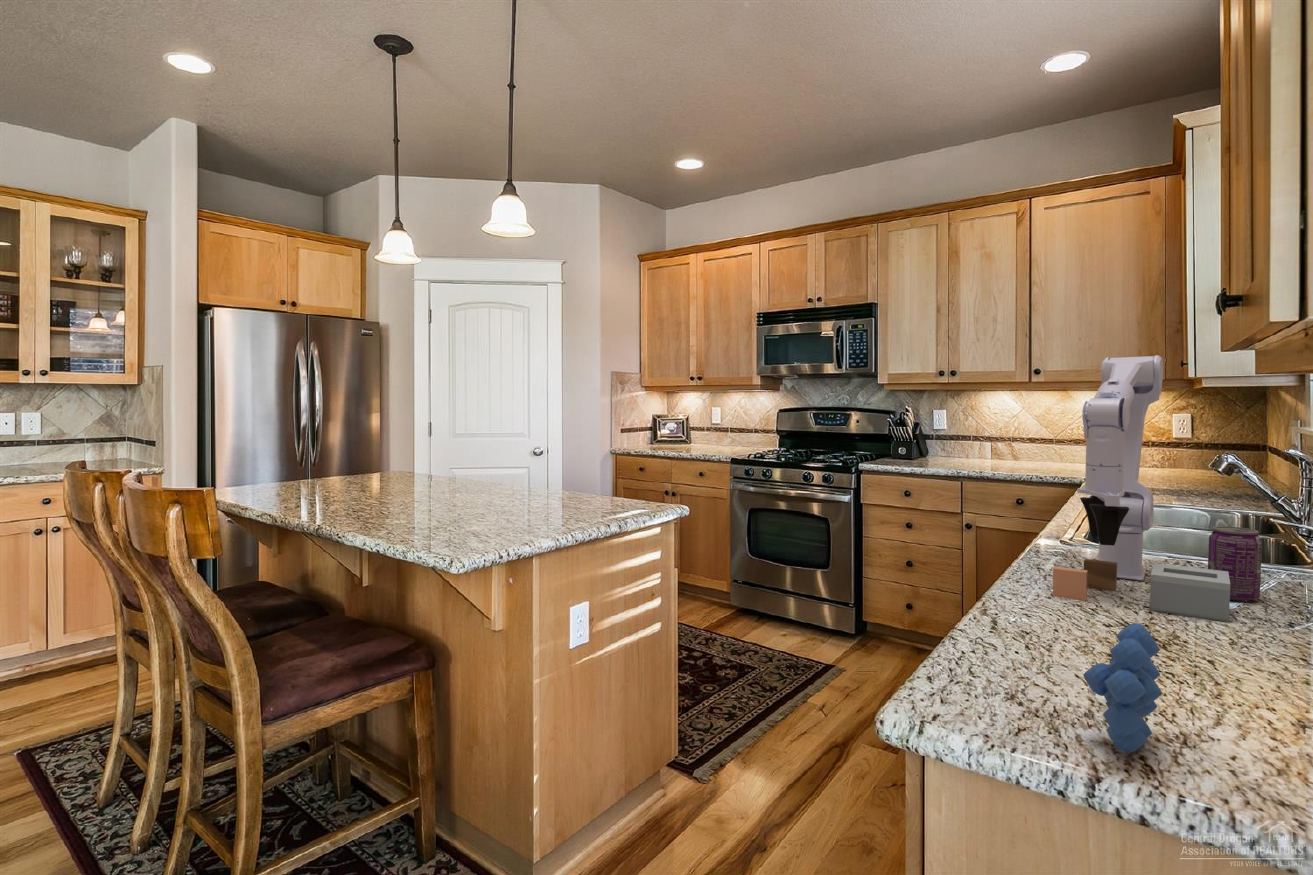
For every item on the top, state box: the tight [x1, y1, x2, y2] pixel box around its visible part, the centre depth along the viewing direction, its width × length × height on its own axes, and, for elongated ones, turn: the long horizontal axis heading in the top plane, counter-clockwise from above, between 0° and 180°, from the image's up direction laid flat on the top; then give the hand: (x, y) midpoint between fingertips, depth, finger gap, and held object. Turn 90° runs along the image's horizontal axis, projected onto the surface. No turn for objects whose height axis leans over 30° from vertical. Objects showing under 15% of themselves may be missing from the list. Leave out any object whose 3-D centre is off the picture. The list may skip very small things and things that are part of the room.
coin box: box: [1149, 562, 1231, 623], centre depth 114 cm, size 10×10×6 cm
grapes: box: [1082, 622, 1163, 754], centre depth 69 cm, size 12×7×12 cm, turn 136°
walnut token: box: [1083, 558, 1118, 593], centre depth 126 cm, size 2×5×5 cm, turn 52°
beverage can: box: [1207, 525, 1263, 602], centre depth 120 cm, size 7×7×12 cm
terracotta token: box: [1052, 565, 1088, 602], centre depth 121 cm, size 2×5×5 cm, turn 52°
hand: (1102, 540), depth 123 cm, fingers open, 7 cm apart
